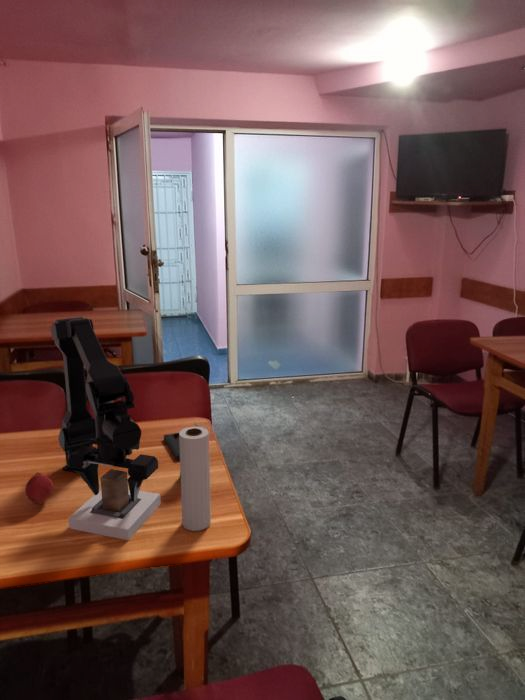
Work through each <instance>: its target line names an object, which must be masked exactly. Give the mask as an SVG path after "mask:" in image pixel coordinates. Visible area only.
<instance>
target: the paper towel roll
mask: <svg viewBox="0 0 525 700" xmlns="http://www.w3.org/2000/svg"><path fill="white" fill-rule="evenodd" d="M194 424H195V425H194V426H189V427H185V428H182V429H181V430H179V432H178V433H179V448H180V461H179V470H180V471H179V475H180V474H181V481H180V492H181V493H180V494H181V496H180V497H181V518H182V519H181V521H182V523H181V524H182V527H184V528H185V529H186V530H188V531H193V532H199V531H202V530H205V529H207V528H208V527H209V526H210V525H211V522H212V521H211V519H212V516H211V515H212V514H211V511H212V510H211V474H210V473H211V472H210V470H211V469H210V432H209V429H207V428H206V427H205V426H202V425H200V424H198V423H197V422H195V423H194Z"/></svg>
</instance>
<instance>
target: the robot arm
mask: <svg viewBox="0 0 525 700" xmlns="http://www.w3.org/2000/svg"><path fill="white" fill-rule="evenodd" d="M50 334H51V338H52V340H53V341H54V344H55V346H56V347H57V348H58V350H59V351H60V352H61V353H62V358H63V359H62V360H63V369H64V371H63V372H64V379H65V381H64V382H65V391H66V392H65V393H66V403H67V409H66V412H65V413H64V415H63V417H62V419H61V424H62V426H61V428H60V431H59V434H58V436H57V437H58V443H59V446H60V448H61V449H62V451H63V452H64V454H65V463H66V465H64V466H63V467H62V470H63V471H67V472H75V473H77V474H78V476H79V477H80V478H81V479H82V480H83V482H85V484H86V485H87V486H88V488H89V489H90V490H91V492H92V493H93V494H94V495H97V494H98V493H99V490H100V480H99V479H100V478H99V470H98V469H99V465H100V466H106V467H107V466H109V467H116V468H122V469H127V476H129V477H127V479H128V489H129V490H130V495H131V499H132V502H135V501H136V499H137V496H138V493H139V491H141V487H142V483H143V482H144V481H145V480H147V479H149V477H150V476H151V475H153V473H155V472H156V471H157V470H158V469H159V460H158V458H157V457H156V456H154V455H148V454H142V453H141V454H139V455H137V457H136V458H134V459H133V458H132V459H131V458H127V457H128V456H130V455H132V453H133V450H136V451H138V450H140V443H141V438H142V429H141V428H140V426H139V424H138V423H137V422H135V421H134V420H133V419H132V418H131V415H130V414H129V413H128V410H130V409H134V408H135V403H134V400H135V396H134V393H133V391H132V387H131V386H130V383H129V380H127V378H126V376H125V375H123V373H122V371H121V370H120V368H119V366H118V365H117V364H114V363H111V362H110V361H109V360H108V358H107V355H106V354H105V352H104V350H103V347H102V345H101V343H100V341H99V339H98V336H97V334H96V333H95V330H94V323H93V320H92V319H90V318H88V317H85V318H84V317H83V316H77V317H69V318H68V317H67V318H60V319H55V321H54V322H53V323H52V324H51V325H50ZM85 370H86V372H87V376H86V377H87V378H86V377H85ZM85 378H86V379H85ZM124 398H125V399H124ZM87 399H88V400H87ZM122 399H124V400H122ZM118 400H119V401H118ZM87 401H89V403H90V407H91V408H92V412H93V414H94V417H93V415H92V414H91V413H90V412H89V411H88V402H87ZM94 445H95V446H96V447H94ZM94 495H93V496H94Z"/></svg>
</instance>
